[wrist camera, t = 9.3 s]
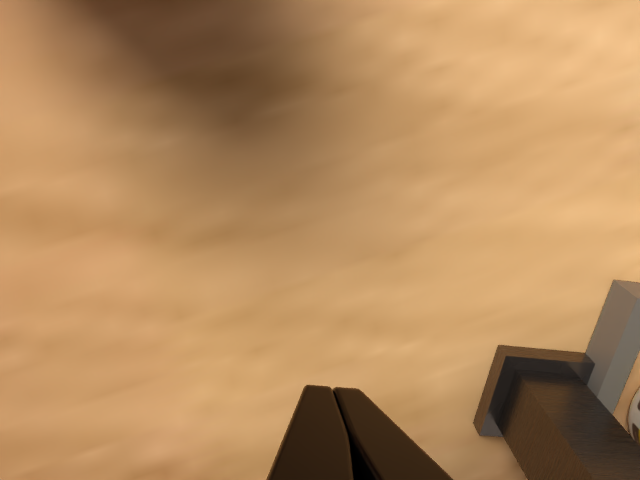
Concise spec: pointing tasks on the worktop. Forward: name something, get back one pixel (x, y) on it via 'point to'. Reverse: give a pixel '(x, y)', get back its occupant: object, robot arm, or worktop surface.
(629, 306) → the collar
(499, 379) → the clip post
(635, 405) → the supplement bottle
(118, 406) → the worktop surface
